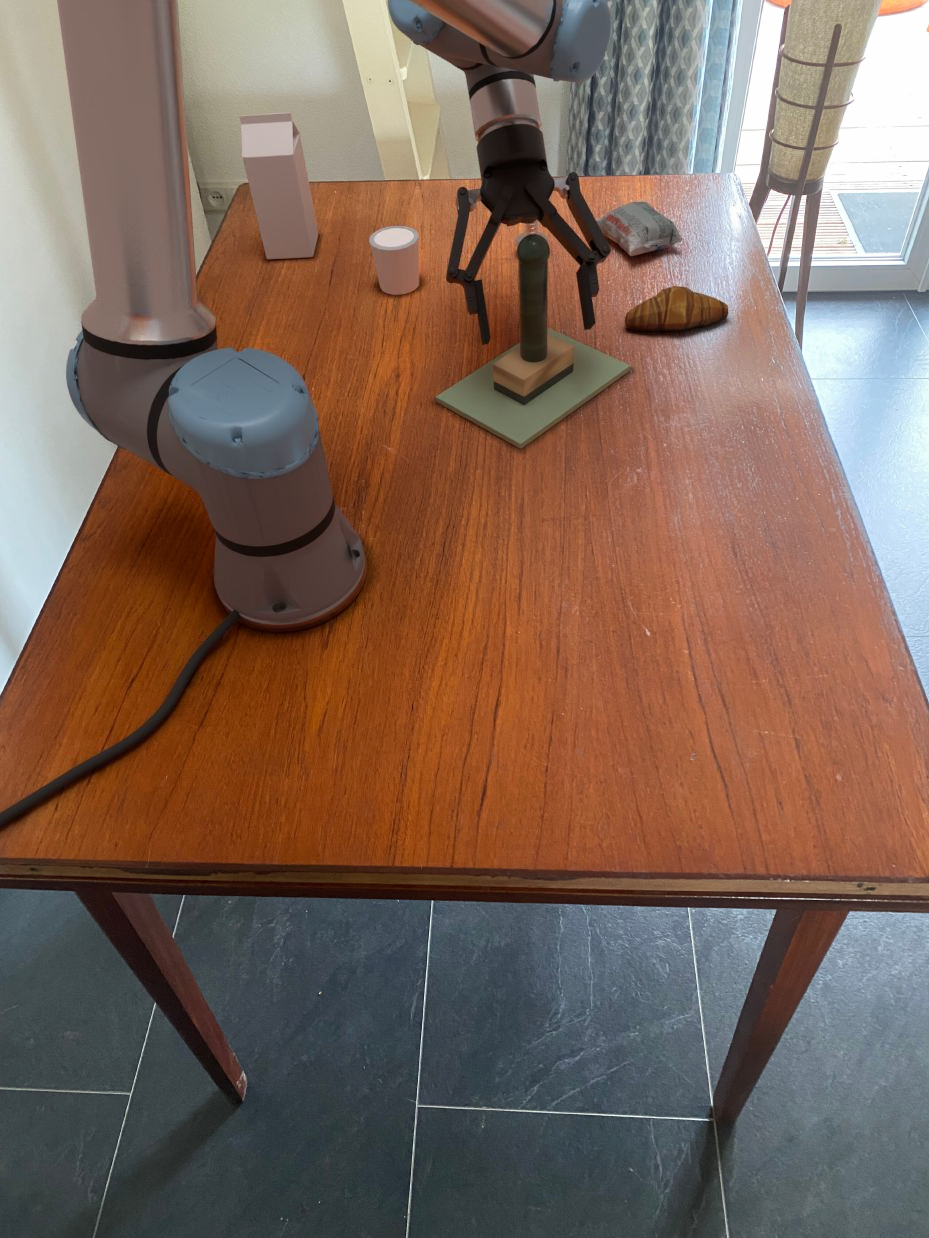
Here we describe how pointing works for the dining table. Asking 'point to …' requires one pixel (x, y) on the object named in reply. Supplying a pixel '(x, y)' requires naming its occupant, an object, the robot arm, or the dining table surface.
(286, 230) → the milk carton
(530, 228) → the screw
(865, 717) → the dining table surface
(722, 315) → the croissant
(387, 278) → the yogurt cup
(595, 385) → the mat
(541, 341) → the scrub brush
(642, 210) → the packaged food
